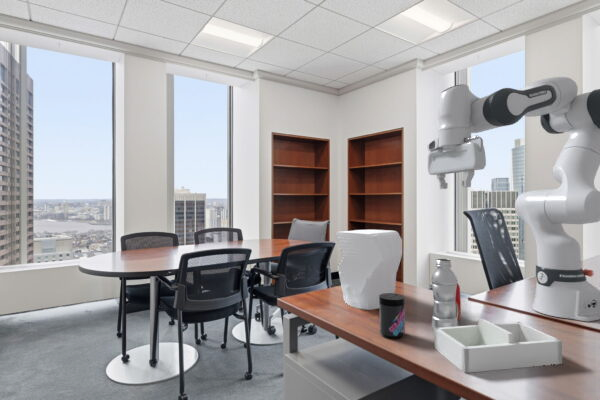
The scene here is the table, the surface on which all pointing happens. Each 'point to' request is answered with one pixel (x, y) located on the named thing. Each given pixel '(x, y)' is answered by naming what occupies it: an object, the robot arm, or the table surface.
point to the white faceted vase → (368, 265)
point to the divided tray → (496, 346)
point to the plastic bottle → (444, 295)
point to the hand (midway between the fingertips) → (454, 188)
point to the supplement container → (392, 315)
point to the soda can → (458, 302)
